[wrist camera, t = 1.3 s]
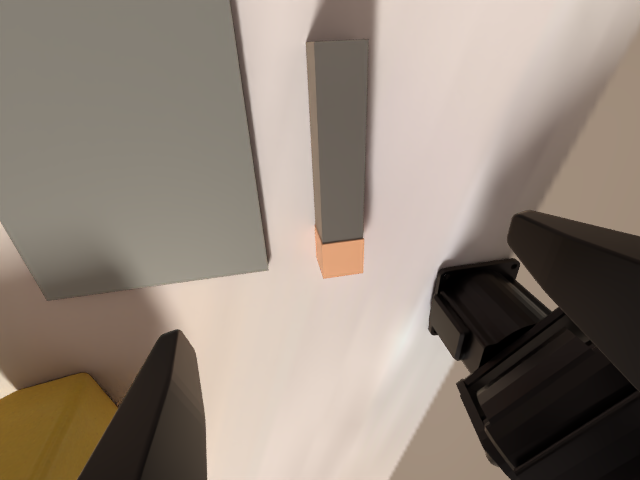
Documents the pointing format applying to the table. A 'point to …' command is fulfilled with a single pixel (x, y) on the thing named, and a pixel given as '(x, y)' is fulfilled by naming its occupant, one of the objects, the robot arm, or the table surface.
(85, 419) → the flower pot
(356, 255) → the block
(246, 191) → the slate board
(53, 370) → the table surface
